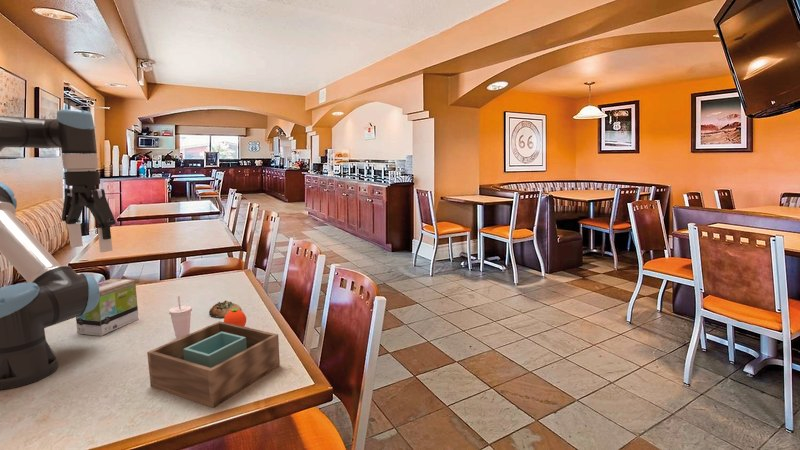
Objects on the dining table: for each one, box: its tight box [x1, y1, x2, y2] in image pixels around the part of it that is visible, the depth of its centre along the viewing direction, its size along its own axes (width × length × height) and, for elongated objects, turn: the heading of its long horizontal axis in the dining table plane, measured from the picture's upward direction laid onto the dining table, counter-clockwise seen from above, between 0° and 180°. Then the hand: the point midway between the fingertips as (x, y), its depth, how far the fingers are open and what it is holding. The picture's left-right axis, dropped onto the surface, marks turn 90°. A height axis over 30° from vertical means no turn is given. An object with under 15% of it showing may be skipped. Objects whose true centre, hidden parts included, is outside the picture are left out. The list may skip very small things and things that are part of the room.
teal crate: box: [183, 332, 247, 368], centre depth 111 cm, size 12×9×8 cm
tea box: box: [75, 278, 139, 337], centre depth 143 cm, size 15×10×15 cm
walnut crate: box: [146, 321, 281, 409], centre depth 111 cm, size 22×22×9 cm
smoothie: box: [168, 295, 193, 340], centre depth 134 cm, size 6×6×14 cm
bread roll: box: [208, 300, 242, 319], centre depth 157 cm, size 11×11×5 cm
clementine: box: [223, 309, 247, 327], centre depth 141 cm, size 8×7×7 cm
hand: (91, 249), depth 116 cm, fingers open, 13 cm apart
